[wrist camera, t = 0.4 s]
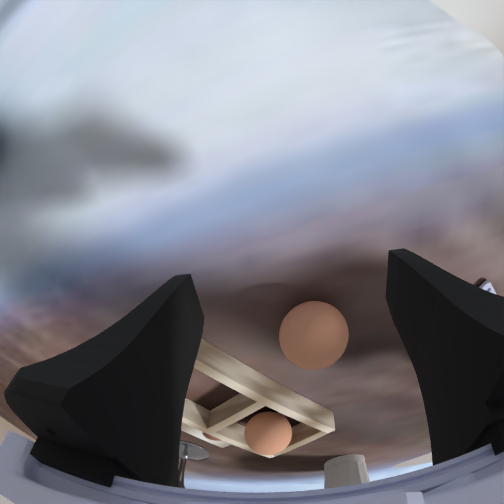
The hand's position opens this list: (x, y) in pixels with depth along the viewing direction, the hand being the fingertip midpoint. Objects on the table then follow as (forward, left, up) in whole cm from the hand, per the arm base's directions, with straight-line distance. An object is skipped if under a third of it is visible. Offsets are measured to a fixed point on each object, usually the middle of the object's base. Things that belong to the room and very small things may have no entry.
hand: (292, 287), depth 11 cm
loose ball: (-8, +5, -7) cm, 12 cm away
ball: (-15, +18, -7) cm, 25 cm away
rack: (-11, +21, -10) cm, 25 cm away
